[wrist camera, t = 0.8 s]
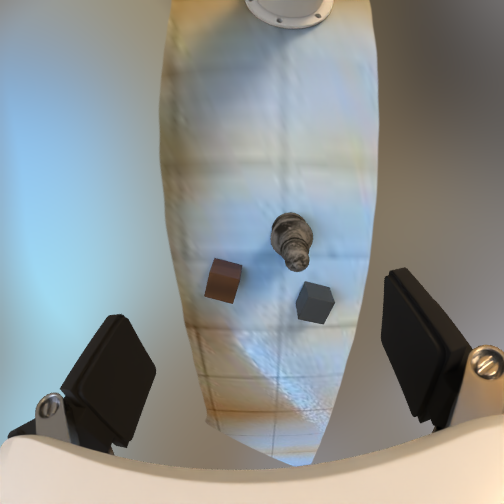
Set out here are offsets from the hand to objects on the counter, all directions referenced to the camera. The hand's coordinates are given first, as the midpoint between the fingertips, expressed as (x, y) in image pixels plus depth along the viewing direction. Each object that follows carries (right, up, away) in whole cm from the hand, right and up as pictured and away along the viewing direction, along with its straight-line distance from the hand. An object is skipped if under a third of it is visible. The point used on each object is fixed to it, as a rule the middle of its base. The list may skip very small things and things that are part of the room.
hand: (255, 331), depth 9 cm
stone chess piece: (+5, +6, +32) cm, 33 cm away
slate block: (+10, -5, +36) cm, 38 cm away
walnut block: (-4, -1, +35) cm, 35 cm away
